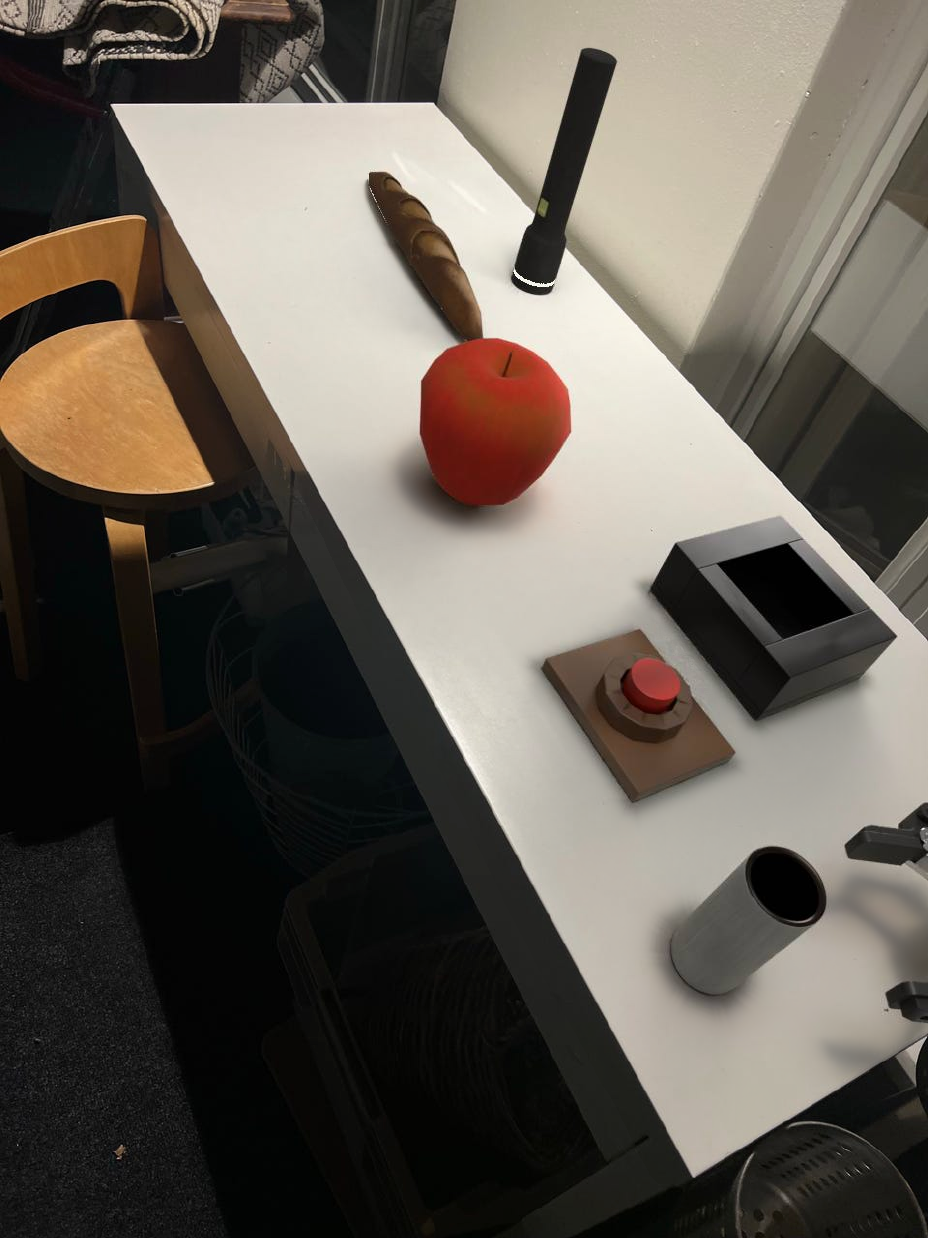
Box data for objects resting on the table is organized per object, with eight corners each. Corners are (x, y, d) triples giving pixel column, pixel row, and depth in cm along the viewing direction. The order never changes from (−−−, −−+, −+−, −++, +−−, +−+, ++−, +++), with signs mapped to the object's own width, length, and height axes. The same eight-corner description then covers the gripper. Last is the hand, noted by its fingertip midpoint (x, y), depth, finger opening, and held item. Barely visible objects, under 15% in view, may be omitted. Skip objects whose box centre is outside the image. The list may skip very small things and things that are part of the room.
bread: (502, 360, 93) (514, 316, 89) (458, 361, 91) (469, 317, 87) (386, 180, 114) (392, 139, 110) (348, 178, 112) (353, 137, 108)
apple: (566, 509, 79) (621, 374, 69) (467, 558, 73) (513, 417, 62) (473, 428, 84) (512, 291, 74) (373, 467, 77) (400, 322, 67)
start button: (680, 705, 64) (690, 691, 63) (641, 720, 62) (651, 706, 61) (651, 667, 66) (660, 652, 64) (612, 680, 64) (621, 665, 63)
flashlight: (534, 268, 107) (502, 274, 105) (600, 43, 90) (564, 43, 87) (561, 291, 105) (529, 297, 102) (634, 64, 87) (598, 65, 85)
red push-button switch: (729, 761, 65) (747, 738, 63) (632, 802, 61) (649, 779, 59) (634, 637, 71) (648, 613, 69) (541, 667, 67) (552, 642, 65)
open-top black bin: (859, 678, 73) (898, 636, 69) (755, 721, 68) (790, 677, 64) (751, 559, 80) (780, 514, 76) (649, 589, 75) (674, 542, 71)
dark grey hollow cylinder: (669, 913, 56) (743, 835, 48) (738, 931, 56) (822, 856, 49) (669, 985, 53) (747, 914, 45) (742, 1004, 53) (832, 936, 46)
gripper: (1120, 805, 54) (873, 768, 52) (1252, 1061, 45) (958, 1030, 42) (1034, 861, 59) (808, 830, 57) (1136, 1100, 50) (870, 1074, 48)
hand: (872, 915), depth 50 cm, fingers open, 8 cm apart
